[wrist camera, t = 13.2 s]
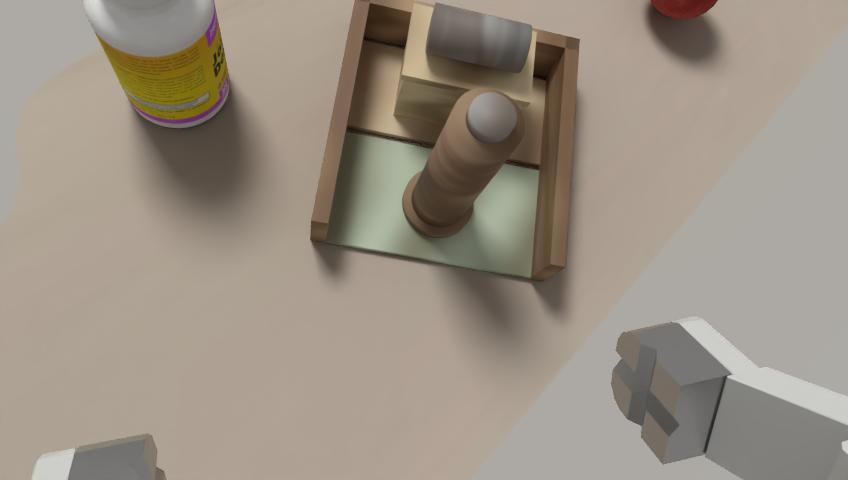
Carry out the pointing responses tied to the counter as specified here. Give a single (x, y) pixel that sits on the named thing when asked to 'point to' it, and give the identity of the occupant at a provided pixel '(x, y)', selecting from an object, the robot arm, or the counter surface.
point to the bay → (398, 162)
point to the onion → (683, 7)
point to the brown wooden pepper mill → (463, 162)
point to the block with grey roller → (461, 60)
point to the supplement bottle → (164, 56)
